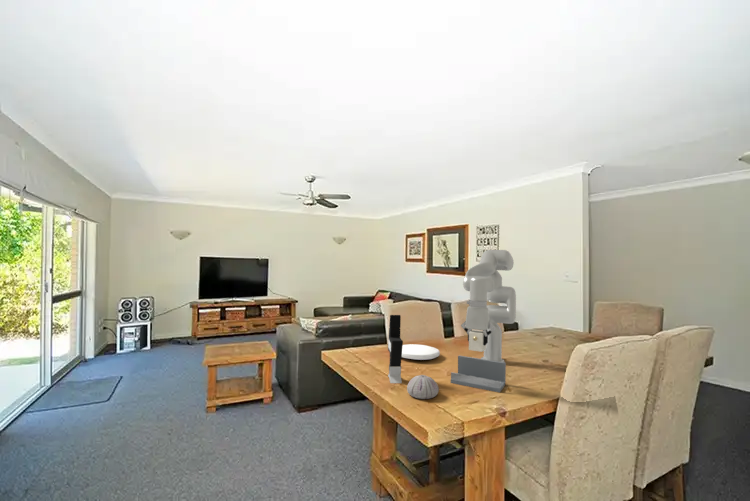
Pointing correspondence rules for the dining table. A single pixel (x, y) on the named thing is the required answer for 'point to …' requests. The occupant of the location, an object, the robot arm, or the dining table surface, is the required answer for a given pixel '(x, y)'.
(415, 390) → the sea urchin shell
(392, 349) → the award
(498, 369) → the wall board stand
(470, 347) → the cabinet block
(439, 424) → the dining table surface
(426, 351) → the plate
